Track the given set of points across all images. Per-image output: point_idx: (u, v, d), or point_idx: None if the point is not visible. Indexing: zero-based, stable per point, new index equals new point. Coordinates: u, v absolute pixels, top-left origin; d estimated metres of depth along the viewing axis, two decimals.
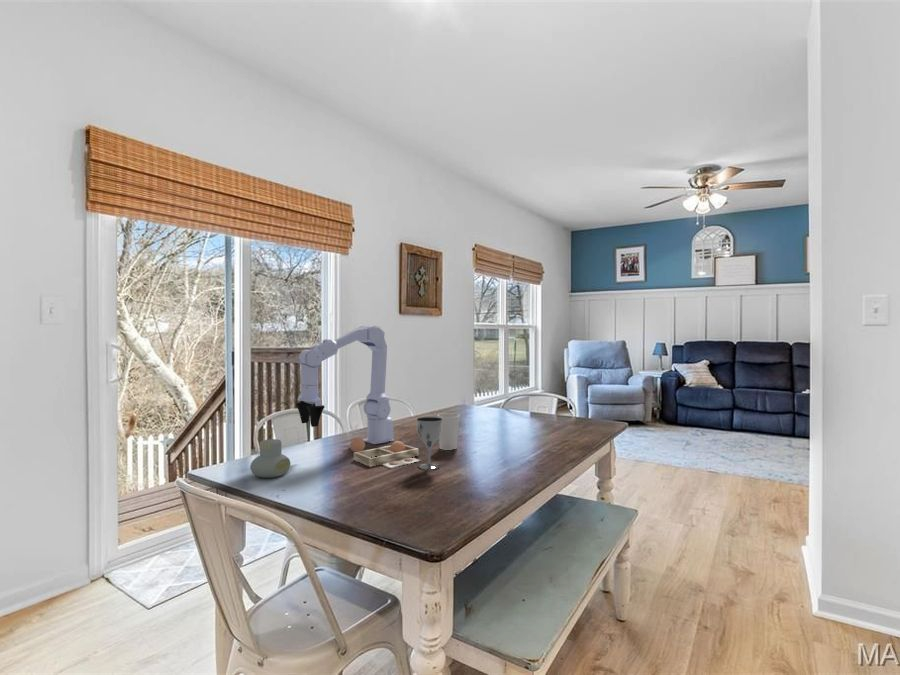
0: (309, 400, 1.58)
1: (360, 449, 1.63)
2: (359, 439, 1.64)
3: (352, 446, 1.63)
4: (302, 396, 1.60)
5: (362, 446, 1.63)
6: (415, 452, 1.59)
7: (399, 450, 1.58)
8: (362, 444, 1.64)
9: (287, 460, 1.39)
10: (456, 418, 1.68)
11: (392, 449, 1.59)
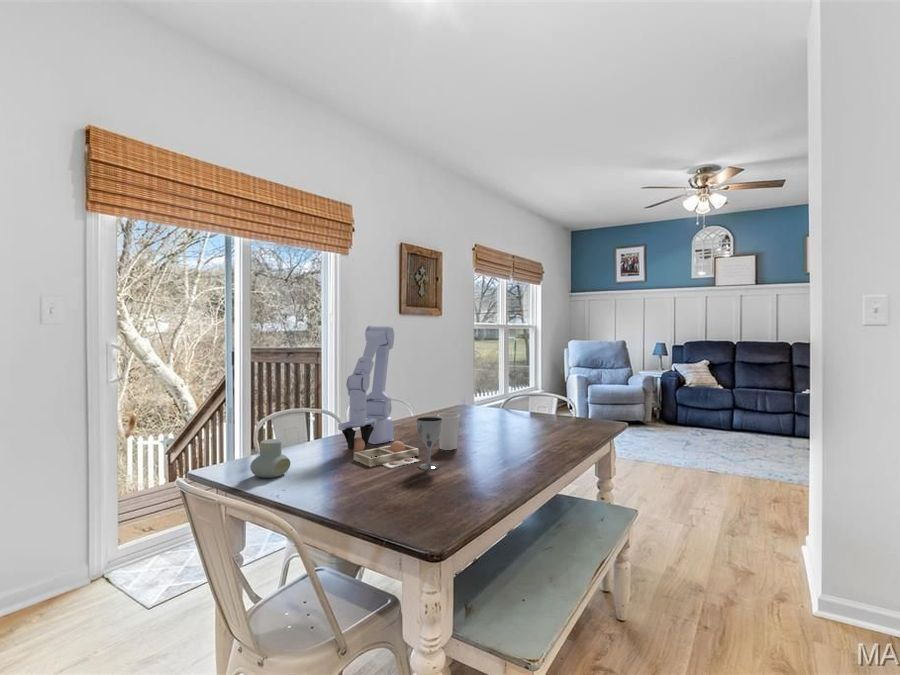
0: None
1: (360, 449, 1.63)
2: (359, 439, 1.64)
3: None
4: None
5: (362, 446, 1.63)
6: (415, 452, 1.59)
7: (399, 450, 1.58)
8: (362, 444, 1.64)
9: (287, 460, 1.39)
10: (456, 418, 1.68)
11: (392, 449, 1.59)
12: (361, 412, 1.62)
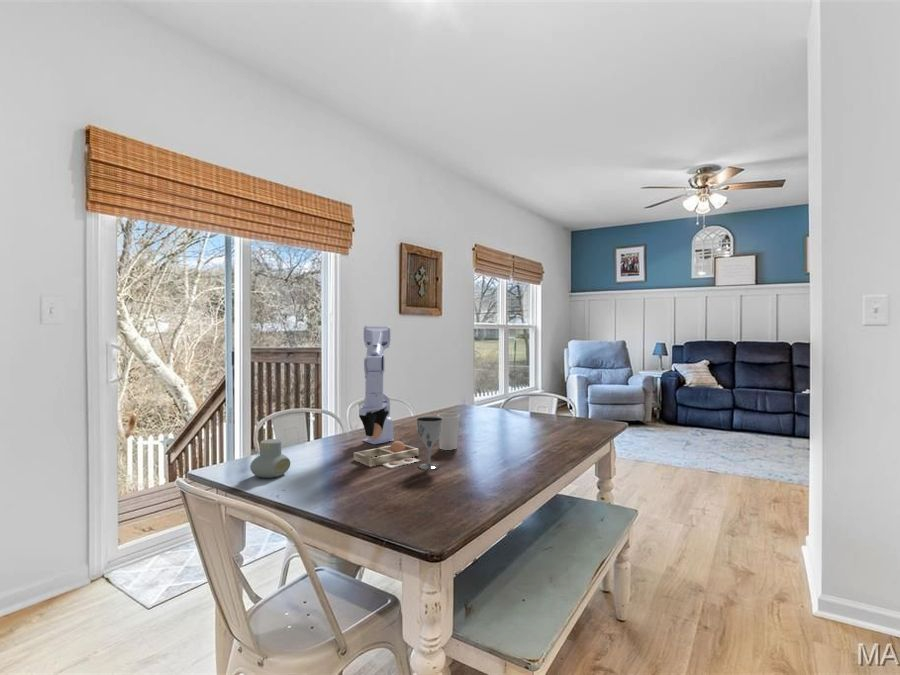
0: None
1: (379, 434, 1.54)
2: (376, 424, 1.54)
3: None
4: None
5: (380, 431, 1.54)
6: (415, 452, 1.59)
7: (399, 450, 1.58)
8: (381, 429, 1.54)
9: (287, 460, 1.39)
10: (456, 418, 1.68)
11: (392, 449, 1.59)
12: (380, 395, 1.53)
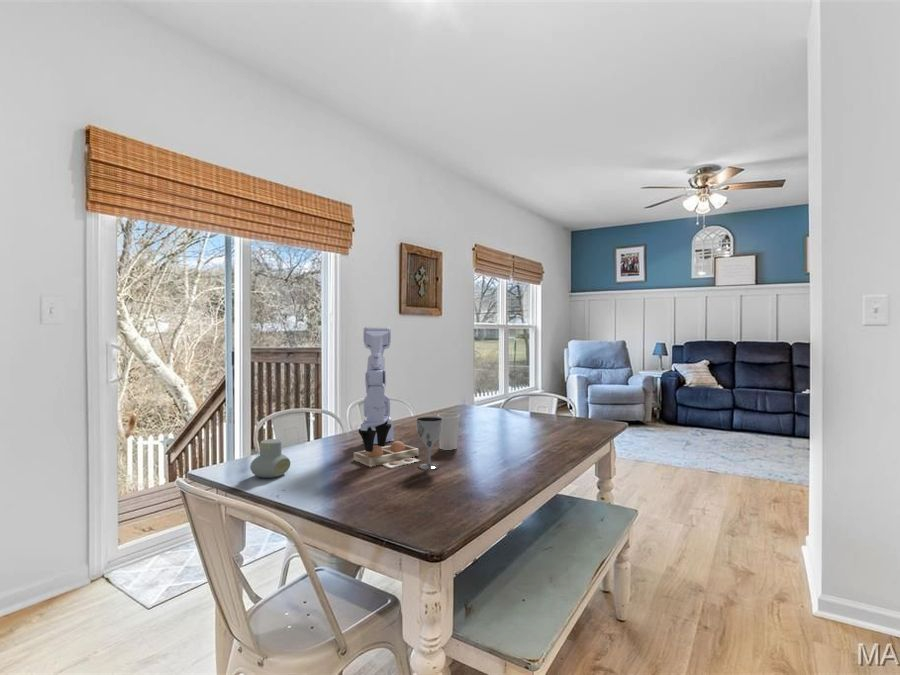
0: None
1: None
2: (378, 446, 1.54)
3: (371, 454, 1.52)
4: None
5: (382, 454, 1.54)
6: (415, 452, 1.59)
7: (399, 450, 1.58)
8: (382, 451, 1.54)
9: (287, 460, 1.39)
10: (456, 418, 1.68)
11: (392, 449, 1.59)
12: (382, 410, 1.53)
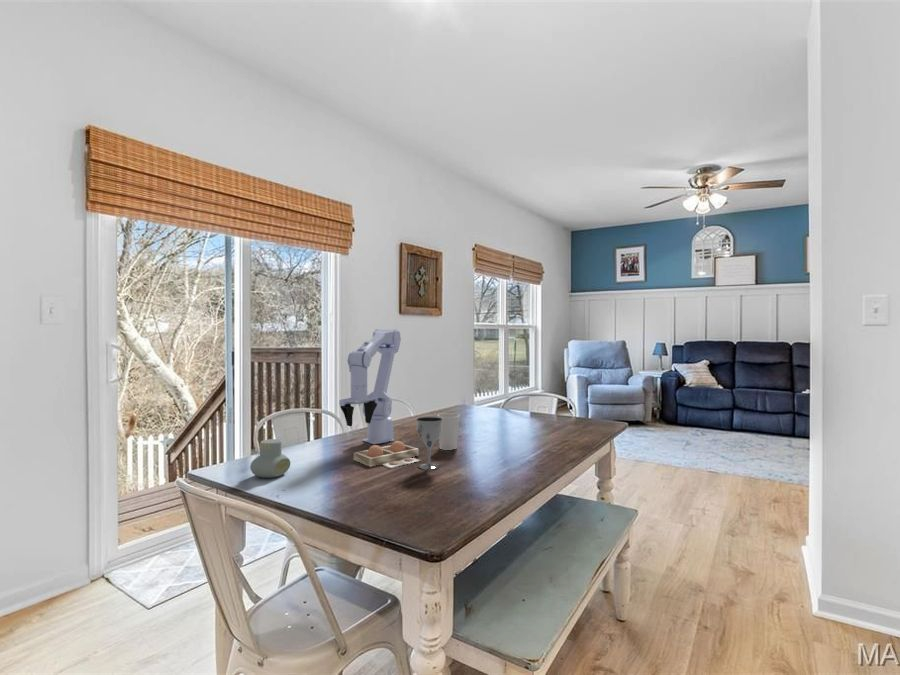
0: None
1: None
2: (378, 446, 1.54)
3: (371, 454, 1.52)
4: None
5: (382, 454, 1.54)
6: (415, 452, 1.59)
7: (399, 450, 1.58)
8: (382, 452, 1.54)
9: (287, 460, 1.39)
10: (456, 418, 1.68)
11: (392, 449, 1.59)
12: (362, 388, 1.64)
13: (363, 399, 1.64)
